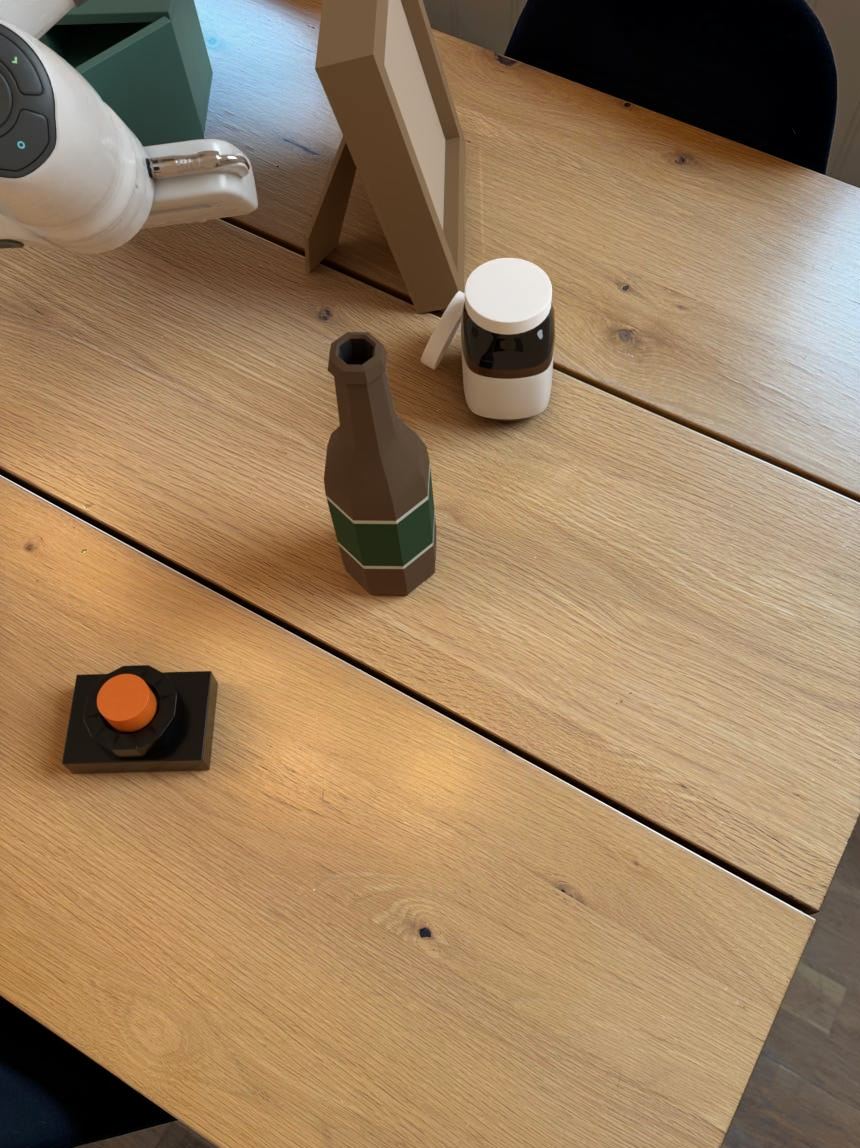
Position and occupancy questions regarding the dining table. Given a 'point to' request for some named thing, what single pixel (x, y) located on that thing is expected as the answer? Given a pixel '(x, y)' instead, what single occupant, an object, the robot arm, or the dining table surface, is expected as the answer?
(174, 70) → the fridge door
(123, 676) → the orange button
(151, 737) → the button panel
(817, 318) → the dining table surface
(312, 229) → the photo frame
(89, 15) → the minifridge
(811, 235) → the dining table surface
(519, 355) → the spread jar
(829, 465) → the dining table surface
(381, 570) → the beer bottle
